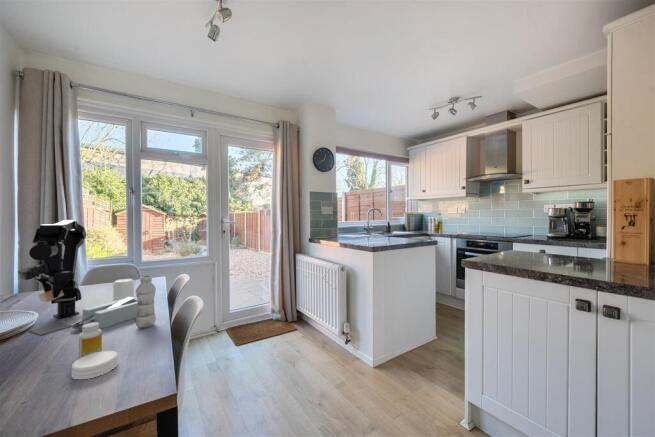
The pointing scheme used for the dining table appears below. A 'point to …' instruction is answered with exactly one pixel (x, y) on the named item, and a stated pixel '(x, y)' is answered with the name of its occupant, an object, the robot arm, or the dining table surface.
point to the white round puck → (94, 364)
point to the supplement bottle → (90, 339)
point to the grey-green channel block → (111, 313)
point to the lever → (91, 318)
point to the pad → (50, 328)
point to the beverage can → (123, 289)
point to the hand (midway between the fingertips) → (51, 296)
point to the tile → (48, 296)
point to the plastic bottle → (145, 303)
